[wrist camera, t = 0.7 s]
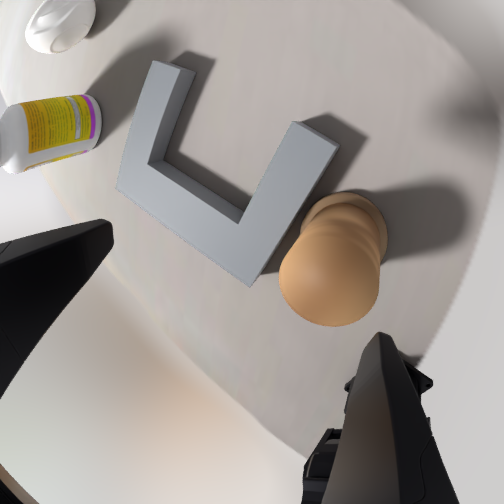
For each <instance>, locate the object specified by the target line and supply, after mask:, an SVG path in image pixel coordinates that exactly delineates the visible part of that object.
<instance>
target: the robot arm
mask: <svg viewBox="0 0 504 504" xmlns="http://www.w3.org/2000/svg"><path fill="white" fill-rule="evenodd" d="M113 245H114V238H113V227H112V224H111V222H109V221H107V220H105V219H97V220H93V221H88V222H84V223H79V224H75V225H71V226H67V227H62V228H58V229H54V230H50V231H46V232H42V233H38V234H34V235H31V236H26V237H23V238H20V239H15V240H13V241H8V242H5V243H1V244H0V399H1V397H2V396H3V394H4V392H5V391H6V389H7V388H8V386H9V384H10V383H11V381H12V380H13V378H14V377H15V375H16V374H17V372H18V371H19V369H20V368H21V366H22V365H23V363H24V361H25V360H26V359H27V357H28V356H29V355H30V353H31V352H32V350H33V349H34V348H35V346H36V345H37V343H38V342H39V340H40V339H41V338H42V337H43V335H44V334H45V333H46V331H47V330H48V329H49V328H50V326H51V325H52V324H53V322H54V321H55V320H56V318H57V317H58V316H59V315H60V313H61V312H62V311H63V310H64V309H65V307H66V306H67V305H68V304H69V303H70V301H71V300H72V299H73V298H74V296H75V295H76V294H77V293H78V292H79V290H80V289H81V288H82V287H83V286H84V285H85V283H86V282H87V281H88V280H89V279H90V277H91V276H92V275H93V273H94V272H95V270H96V269H97V268H98V266H99V265H100V264H101V262H102V261H103V260H104V258H105V257H106V256H107V254H108V253H109V252H110V250H111V249H112V247H113ZM432 386H433V380H432V379H430V378H429V377H427V376H426V375H424V374H423V373H421V372H420V371H419V370H417V369H416V368H414V367H413V366H411V365H410V364H408V363H407V362H405V361H404V360H402V358H401V356H400V354H399V352H398V350H397V347H396V345H395V343H394V341H393V339H392V337H391V336H390V335H388V334H385V333H382V332H377V333H376V334H375V336H374V337H373V338H372V339H371V341H370V342H369V343H368V345H367V346H366V347H365V349H364V350H363V353H362V356H361V359H360V363H359V367H358V370H357V374H356V376H355V377H353V378H352V380H351V381H349V382H348V383H346V384H345V388H344V389H345V391H347V392H348V397H347V401H346V405H345V409H344V413H345V414H346V415H345V420H344V424H343V429H334V428H331V429H327V430H326V432H325V434H324V435H323V437H322V438H321V440H320V442H319V443H318V445H317V446H316V448H315V449H314V451H313V452H312V454H311V456H310V457H309V459H308V460H307V462H306V464H305V465H304V472H303V496H302V502H301V504H459V501H458V499H457V496H456V493H455V491H454V488H453V486H452V484H451V481H450V479H449V477H448V474H447V471H446V469H445V466H444V464H443V462H442V459H441V456H440V453H439V450H438V448H437V445H436V442H435V439H434V437H433V436H432V431H431V424H430V417H428V418H426V415H425V413H424V410H423V408H422V405H421V394H422V393H424V392H425V391H427V390H428V389H430V388H431V387H432ZM349 387H350V388H349ZM0 504H39V503H38V502H37V501H36V500H35V499H33V497H32V496H30V495H29V494H28V493H27V492H26V491H25V490H24V489H23V488H22V487H21V486H20V485H19V484H18V483H17V482H16V481H15V479H14V478H13V477H12V476H11V475H10V474H9V473H8V472H7V471H6V470H5V468H4V467H3V466H2V465H1V464H0Z"/></svg>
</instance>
